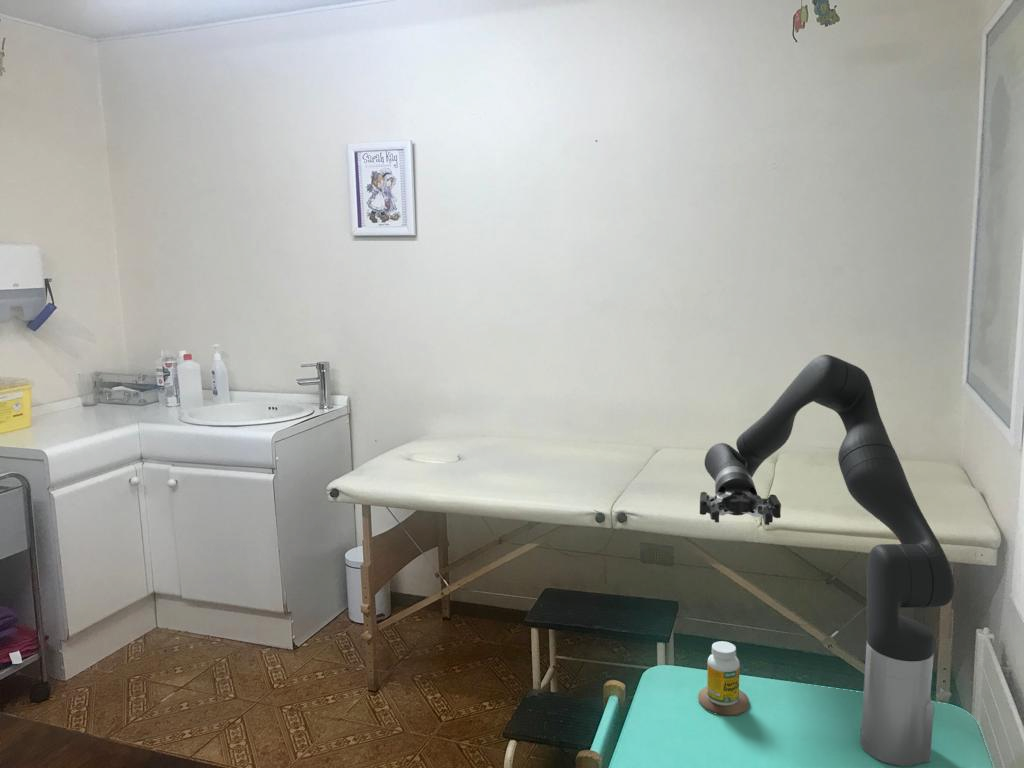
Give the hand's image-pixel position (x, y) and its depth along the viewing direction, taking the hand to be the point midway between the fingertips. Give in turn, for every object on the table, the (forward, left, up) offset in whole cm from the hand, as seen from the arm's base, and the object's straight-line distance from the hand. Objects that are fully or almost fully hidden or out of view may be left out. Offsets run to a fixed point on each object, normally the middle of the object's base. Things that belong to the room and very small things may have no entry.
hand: (742, 518), depth 143 cm
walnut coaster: (+3, +9, -30) cm, 31 cm away
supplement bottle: (+3, +9, -30) cm, 31 cm away
